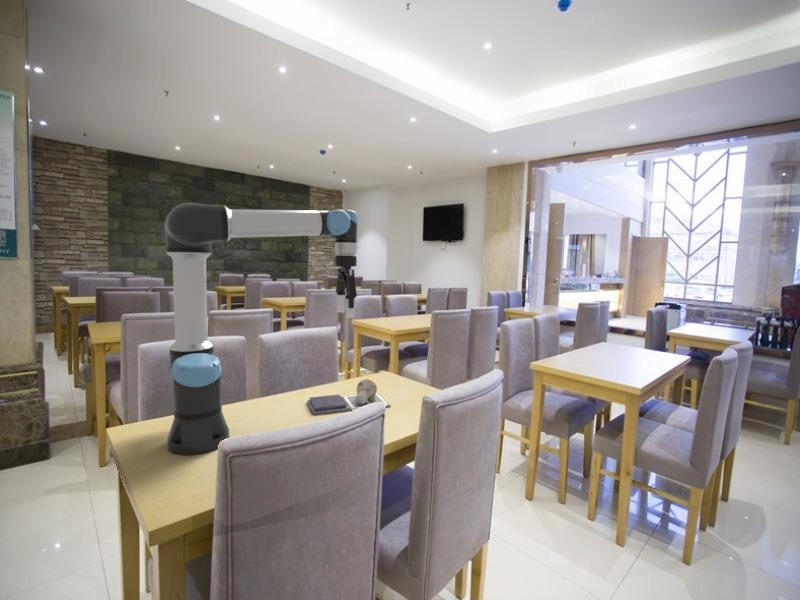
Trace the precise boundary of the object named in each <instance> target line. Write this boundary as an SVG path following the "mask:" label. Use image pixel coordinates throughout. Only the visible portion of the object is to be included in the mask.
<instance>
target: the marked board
mask: <svg viewBox="0 0 800 600" xmlns="http://www.w3.org/2000/svg"><path fill="white" fill-rule="evenodd" d="M340 396H341V395H340ZM356 396H357V394H353V395H351V394H350V395H344V396H343V395H342V396H341V397H342V399H343V400H344V401H345V403H346V404H347V406H348V407H349V411H351V410H354V409H357V408H359V407H362V406H364V405H367V403H365V404H363V405H360V404H358V403H357V402H356V399H355V398H356ZM369 402H370V403H373V398H371V399H369ZM375 402H383V403H384V404H385V405H386V407H385V408H391V404H390V403H389V402H388V401H387V400H386V399H385V398H384V397H383V396H382V395H381V394H380V393H379V392H376V394H375Z"/></svg>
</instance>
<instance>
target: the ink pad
mask: <svg viewBox="0 0 800 600" xmlns="http://www.w3.org/2000/svg"><path fill="white" fill-rule="evenodd" d="M306 401H307V402H306V403H307V405H308V407H309V409H310V411H311V414H312V415H323V414H324V415H325V414H332V413H341V412H349V411H350V409H349V407H348V406H347V404H346V403H345V401H344V400H343V399H342V397H341V395H340V394H333V395H331V394H330V395H323V396H313V397H309V399H306Z"/></svg>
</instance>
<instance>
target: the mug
mask: <svg viewBox="0 0 800 600" xmlns="http://www.w3.org/2000/svg"><path fill="white" fill-rule="evenodd" d="M377 391H378V387H377V385H376V383H375V382H374V381H372V380H371V379H365V378H364V379H361V381H359V383H358V384H357V387H356V395H357V396H356V398H355V399H356V402H357V403H358V404H360V405H363V404H365V403H367V404H370V402H369V399H371V398H373V403H374V402H375V394H376V393H377Z"/></svg>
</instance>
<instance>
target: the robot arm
mask: <svg viewBox="0 0 800 600" xmlns="http://www.w3.org/2000/svg"><path fill="white" fill-rule="evenodd" d="M163 227H164V228H163V229H164V230H163V231H164V232H165V247H166V248H165V249H166V250H165V251H166V254H167V255H168V256H170V258H171V259H172V278H173V279H172V281H173V283H172V284H173V311H174V315H173V316H174V318H173V319H174V343H171V346H169V366H168V374H169V375H168V376H169V378H170V381H171V384H172V385H171V386H172V395H173V396H172V397H173V399H172V400H173V421H172V424H171V426H170V430H169V432H168V437H167V443H166V445H167V450H168V452H170V453H172V454H175V455H182V456H183V455H185V456H187V455H188V456H189V455H190V456H191V455H200V454H203V453H204V454H205V453H208V452H211V451H215V450H216V449H217V450H218V449H219V448H218V445H219V443H220V441H222V440H224V439H226V438H229V439H230V429H229V426H228V424H227V421H226V418H225V416H224V413H223V410H222V409H223V407H222V406H223V405H222V403H223V401H222V371H223V370H222V369H223V367H222V365H221V360H220V359H219V357H218V356H216V355H214V353H215V352H214V343H212V342H211V341H210V340H209V339H208V334H209V333H208V331H209V330H208V299H207V298H208V297H207V293H208V292H207V288H208V287H207V259H208V258H209V257H210V256H211V255H212V244H213V243H222V242H224V243H225V242H229V241H230V240H231V239H232V238H236V239H238V238H270V237H271V238H273V237H274V238H275V237H311V238H313V237H315V238H319V237H321V238H334V242H335V243H334V254H336V255H335V257H334V264H335V266H336V267H339V268H337V279H336V285H335V286H336V288H335V293H336V295H337V296H336V297H337V298H336V308H337V309H336V310H337V311H336V313H338V314H339V313H341V314H343V313H345V316H346V317H345V318H346V319H349V318H352V319H354V318H355V300H356V298H357V297H358V296H357V295H358V294H357V286H356V278H355V269H353V268H352V267H357V261H358V259H357V249H358V248H359V246H358V245H357V244H358V243H357V242H358V241H357V240H358V237H357V236H358V234H357V233H358V216H357V212H356V211H355V210H350V209H332V210H317V209H316V210H312V209H311V210H309V209H308V210H305V209H298V210H297V209H231V208H228V206H226V205H224V204H223V205H220V204H219V205H218V204H217V205H216V204H204V203H199V202H198V203H195V202H184V203H180V204H178V205H176V206H174V207H173V208H172V209H171V211H169V213H168V214H167V215H166V217H165V220H164V223H163Z"/></svg>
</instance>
